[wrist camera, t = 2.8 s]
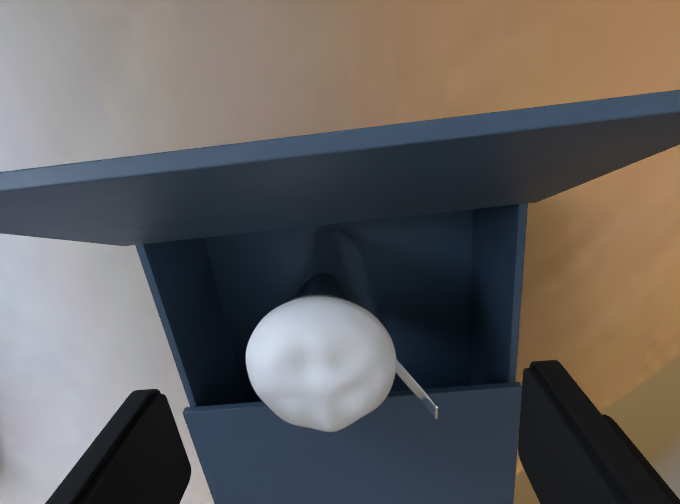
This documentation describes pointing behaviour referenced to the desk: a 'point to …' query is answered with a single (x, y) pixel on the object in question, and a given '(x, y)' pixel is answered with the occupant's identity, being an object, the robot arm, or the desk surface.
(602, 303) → the desk surface
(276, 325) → the milkshake
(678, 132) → the flap
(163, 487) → the robot arm
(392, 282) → the carton
